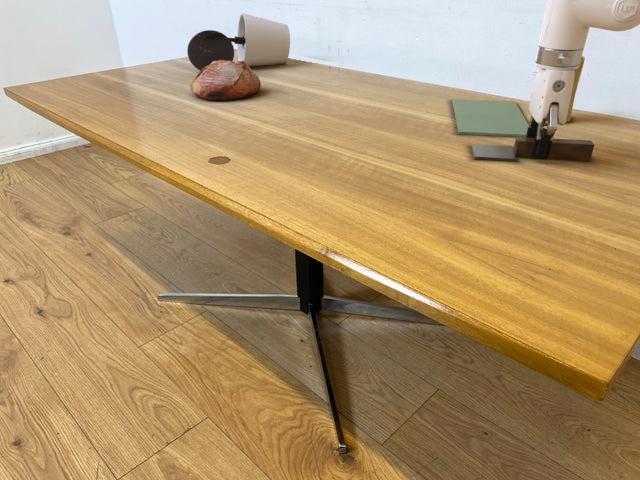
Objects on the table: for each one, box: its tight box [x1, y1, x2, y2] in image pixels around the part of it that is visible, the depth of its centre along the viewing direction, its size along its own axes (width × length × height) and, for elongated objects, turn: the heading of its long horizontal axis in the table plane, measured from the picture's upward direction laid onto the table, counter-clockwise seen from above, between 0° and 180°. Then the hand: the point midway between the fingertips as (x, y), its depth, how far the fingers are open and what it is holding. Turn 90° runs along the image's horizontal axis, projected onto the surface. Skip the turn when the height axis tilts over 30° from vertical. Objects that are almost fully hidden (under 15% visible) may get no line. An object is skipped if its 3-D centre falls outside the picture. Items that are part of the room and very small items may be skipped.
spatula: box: [470, 137, 595, 163], centre depth 96 cm, size 22×7×3 cm, turn 80°
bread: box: [189, 60, 262, 102], centre depth 136 cm, size 16×20×10 cm
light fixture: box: [186, 12, 291, 72], centre depth 163 cm, size 17×19×34 cm
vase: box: [546, 55, 586, 124], centre depth 112 cm, size 6×6×14 cm
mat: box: [451, 98, 529, 138], centre depth 117 cm, size 16×26×1 cm, turn 170°
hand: (535, 151), depth 96 cm, fingers open, 5 cm apart
